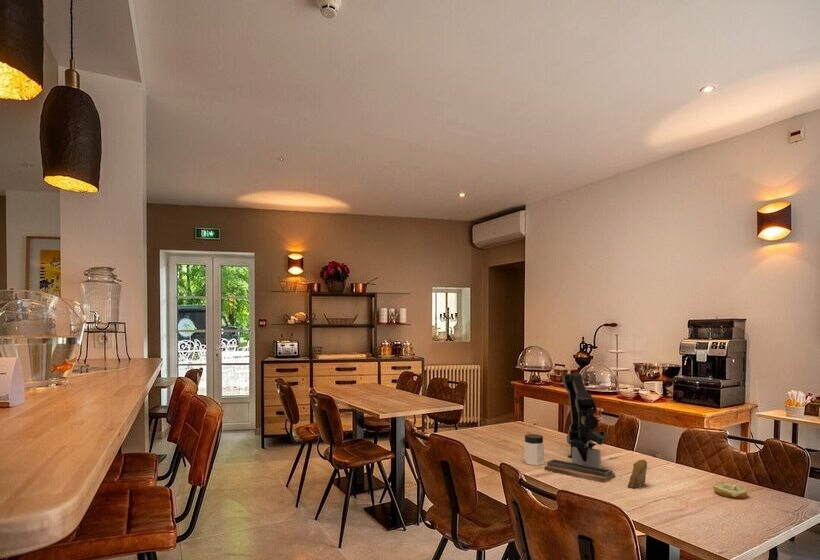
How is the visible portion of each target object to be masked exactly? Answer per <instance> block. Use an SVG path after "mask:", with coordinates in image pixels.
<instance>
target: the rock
mask: <svg viewBox="0 0 820 560" xmlns="http://www.w3.org/2000/svg"><path fill="white" fill-rule="evenodd" d="M632 467H633V469H632V474H630V477H629V482H628V484H627V487H628V488H631V489H635V488H638V487H640V485H641V486H642V485H645V484H646V478H647V477H646V476H647V475H646V474H647V469H648V462H647V460H645V459H639V460H637V461H635V462H634V463H633V464H632Z"/></svg>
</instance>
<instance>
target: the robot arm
mask: <svg viewBox="0 0 820 560" xmlns="http://www.w3.org/2000/svg"><path fill="white" fill-rule="evenodd" d="M562 384H563V386H564V389H565V391H566V392H567V393H568V402H569V412H570V422H571V423H570V424H569V428H568V432H567V436H566V443H567V444H568V445H570V454H569V455H567V457H568V458H572V447H576V448H577V449H578V451H579V453H580V455H581V457H582V459H583V461H585V462H586V459H587V450H588V449H589V448H592V449H594V447H595V446H596V445H599V446H600V445H604V444H605V441H606V440H607V434H606V432H605V431H604V430H601V431H600V432H599V431H595V429H596V428H597V427H598V426H599V420H598V418H597V417H596V416H594V414H597V411H598V407H597V404H596V401H595V399H594V398H593V396H592V395H591V393H590V392H588V391H587V389H586V386H585V384H584V381H583V376H582V374H581V373H579V372H572V373H569V374H568V373H565V374H564V375H563V376H562Z"/></svg>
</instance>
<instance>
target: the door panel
mask: <svg viewBox="0 0 820 560" xmlns="http://www.w3.org/2000/svg"><path fill="white" fill-rule="evenodd" d="M601 455H602V454H601V449H596V448H589V449H588V450H587V459H586V462H585V461H583V459H582V457H581V455H580V453H579V451H578V449H577V448H576V447H572V457H571V463H576V464H581V465H586V466H592V467H597V468H602V465H601V464H602V463H601V461H602V460H601Z"/></svg>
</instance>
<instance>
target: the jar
mask: <svg viewBox="0 0 820 560" xmlns="http://www.w3.org/2000/svg"><path fill="white" fill-rule="evenodd" d="M523 455H524V456H523V457H524V458H523V459H524V460H523V461H524V463H525V464H527V465H529V464H530V466H531V465H532V466H541V465H544V464H545V443H544V437H543V435H542V434H539V433H538V434H537V433H536V434H535V433H529V434H525V435H524V441H523Z"/></svg>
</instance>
